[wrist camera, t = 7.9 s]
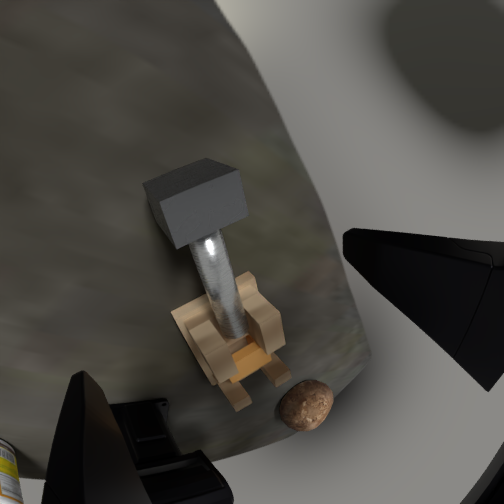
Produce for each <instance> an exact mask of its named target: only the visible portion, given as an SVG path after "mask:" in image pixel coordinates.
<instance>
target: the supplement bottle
mask: <svg viewBox="0 0 504 504" xmlns="http://www.w3.org/2000/svg"><path fill="white" fill-rule="evenodd" d="M0 504H24V503H23V498H22V493H21V488H20V482H19V477H18V470H17V463H16V455H15V452H14V450H13V448H12V447H11V446H10V445H9V444H7V443H6V442H5V441H3V440H1V439H0Z"/></svg>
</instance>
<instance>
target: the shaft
mask: <svg viewBox="0 0 504 504" xmlns="http://www.w3.org/2000/svg"><path fill="white" fill-rule="evenodd" d="M142 184H143V187H144V189H145V192H146V195H147V198H148V201H149V203H150V206H151V209H152V211H153V214H154V217H155V219H156V222H157V223H158V225H159V226H160V227H161V229H162V230H163V231H164V233H165V234H166V236H167V237H168V238H169V240H170V241H171V242H172V244H173V245H174V246H175V248H176V249H178V248H181V247H183V246H185V245H187V244H188V245H189V248H190V250H191V253H192V256H193V259H194V261H195V264H196V267H197V270H198V272H199V275H200V278H201V280H202V283H203V286H204V288H205V291H206V293H207V296H208V299H209V301H210V304H211V306H212V309H213V311H214V314H215V316H216V319H217V321H218V324H219V326H220V329H221V331H222V334H223V335H224V336H225V337H226V338H229V339H237V338H240V337H242V336H244V335H245V334H246V333H247V331H248V329H249V324H248V321H247V318H246V314H245V311H244V307H243V304H242V301H241V297H240V294H239V291H238V287H237V284H236V280H235V277H234V273H233V270H232V266H231V263H230V259H229V256H228V252H227V249H226V245H225V242H224V238H223V235H222V231H221V228H223V227H225V226H227V225H229V224H232V223H234V222H236V221H238V220H240V219H242V218H245V217H247V216H249V214H248V209H247V205H246V200H245V195H244V191H243V186H242V182H241V177H240V173H239V169H236V168H233V167H230V166H228V165H225V164H222V163H219V162H216V161H214V160H211V159H208V158H204V159H202V160H199V161H196V162H194V163H191V164H188V165H186V166H183V167H181V168H178V169H176V170H173V171H171V172H168V173H166V174H163V175H161V176H158V177H156V178H154V179H151V180H149V181H147V182H144V183H142Z"/></svg>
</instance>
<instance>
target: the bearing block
mask: <svg viewBox="0 0 504 504" xmlns="http://www.w3.org/2000/svg"><path fill="white" fill-rule="evenodd" d="M235 280H236V284H237V287H238V291H239V294H240V297H241V301H242V304H243V307H244V311H245V314H246V318H247V321H248V324H249V329H248V331H247V333H246V334H245V335H244V336H242V337H240V338H237V339H229V338H226V337H225V336H224V335H223V334H222V331H221V329H220V326H219V324H218V321H217V319H216V316H215V314H214V311H213V309H212V306H211V304H210V301H209V299H208V296H207V293H206V294H204V295H202V296H200V297H198V298H196V299H194V300H192V301H191V302H189V303H187V304H185V305H183V306H181V307H179V308H177V309H175V310H173V311H171V314H172V315H173V317H174V319H175V321H176V323H177V325H178V327H179V329H180V330H181V332H182V334H183V336H184V338H185V340H186V341H187V343H188V345H189V347H190V349H191V350H192V352H193V354H194V356H195V357H196V359H197V361H198V363H199V364H200V366H201V368H202V369H203V371H204V373H205V374H206V376H207V378H208V379H209V381H210V383H211V384H212V386H214V385H216V384H218V386H219V387H220V389H221V390H222V392H223V393H224V395H225V396H226V398H227V399H228V401H229V402H230V404H231V405H232V406H233V408H234V409H235V411H236V412H238V411H239V410H241V409H243V408H244V407H246V406H248V405H249V404H251V403H252V401H251V398H250V396H249V395H248V393H247V392H246V391H245V389H244V388H243V387H242V385H241V384H240V383H239V381H240V380H242V379H244V378H245V377H247V376H249V375H250V374H252V373H254V372H255V371H257V370H259V369H261V370H262V371H263V373H264V374H265V375H266V376H267V377H268V379H269V380H270V381H271V382H272V383H273V384H274V386H275V387H276V388H277V387H278V386H280V385H281V384H283V383H284V382H286V381H287V380H289V379H290V378H291V373H290V369H289V368H288V367H287V366H286V365H285V364H284V363H283V362H282V361H281V360H280V359H279V357H278V356H277V355H276V354H275V353H274V351H275V350H277V349H279V348H280V347H282V346H283V345H285V338H284V332H283V327H282V321H281V315H280V312H279V311H278V310H277V309H276V308H275V307H274V306H273V305H272V304H270V303H269V302H268V301H267V300H266V299H265V298H264V297H263V296H262V295H261V294H260V293H259V292H258V289H257V284H256V280H255V277H254V276H253V275H252V274H251V273H250V272H249V271H248V272H246V273H244V274H242V275H240V276H238V277H236V278H235ZM247 335H250V336H251V337H252V338H253V339H254V340H255V341H256V343H257V344H258V345H259V346H260V347H261V348H262V349H263V351H264V352H265V353H266V354H267V355H269V354H270V355H271V359H272V360H271V361H270V362H268V363H267V364H265V365H263V366H262V367H260V368H259V369H257V370H255V371H254V372H252V373H250V374H249V375H247V376H245V377H244V378H242V379H240V380H239V381H237V382H235V383H233V384H232V383H231V381H230V380H229V378H231V377H233V376H234V375H236V374H238V373H239V371H238V369H237V367H236V364H235V362H234V360H233V357H232V354H234V353H235V352H237V351H239V350H241V349H242V348H244V347H246V346H247V345H248V342H247V339H246V336H247Z"/></svg>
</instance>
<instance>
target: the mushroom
mask: <svg viewBox="0 0 504 504" xmlns="http://www.w3.org/2000/svg"><path fill="white" fill-rule="evenodd" d="M332 404H333V392H332V390H331V389H330V388H329V387H328V386H327V385H326V384H325V383H322V382H320V381H317V380H309V381H304V382H302V383H300V384H297V385H296V386H294V387H293V388H292V389H291V390H289V391H288V392H287V394H286V395H285V396H284V398H283V399H282V401H281V404H280V408H279V412H280V416H281V420H282V421H283V422H284V423H285V424H286V425H287V426H288V427H289V428H292V429H294V430H296V431H309V430H311V429H314V428H316V427H317V426H318V425H320V424H321V423H322V422H323V421H324V420H325V418H326V416H327V415H328V413H329V411H330V409H331V406H332Z"/></svg>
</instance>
